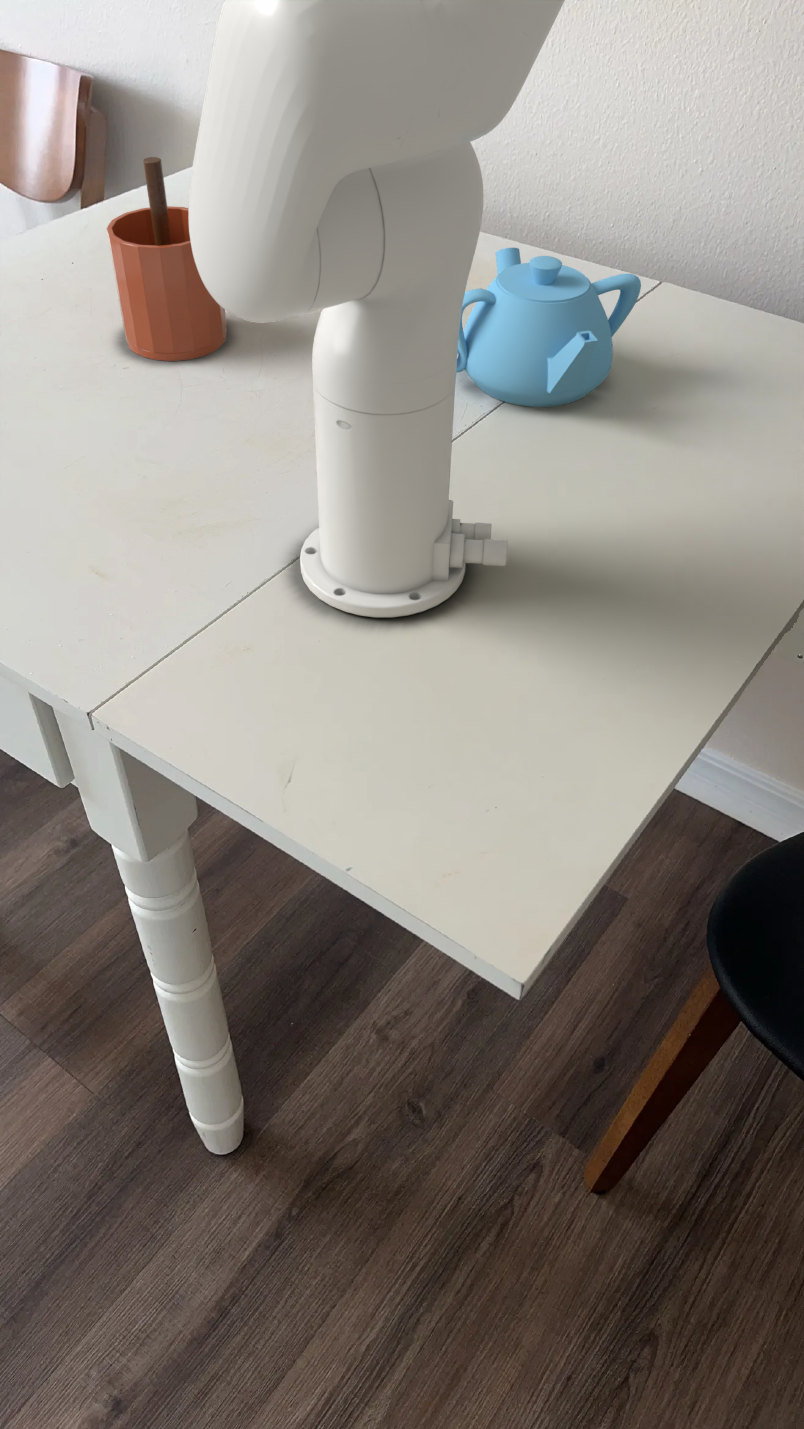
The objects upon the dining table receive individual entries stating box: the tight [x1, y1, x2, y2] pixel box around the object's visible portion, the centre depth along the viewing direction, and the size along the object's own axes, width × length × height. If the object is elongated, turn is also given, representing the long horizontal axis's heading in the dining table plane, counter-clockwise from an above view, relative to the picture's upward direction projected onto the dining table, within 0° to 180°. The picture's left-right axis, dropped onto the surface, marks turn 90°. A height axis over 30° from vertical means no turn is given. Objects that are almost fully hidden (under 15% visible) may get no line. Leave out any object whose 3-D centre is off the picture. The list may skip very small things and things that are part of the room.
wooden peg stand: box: [142, 156, 172, 246], centre depth 103 cm, size 5×5×16 cm
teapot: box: [456, 247, 642, 408], centre depth 101 cm, size 15×17×11 cm
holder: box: [106, 205, 228, 362], centre depth 105 cm, size 10×10×11 cm
